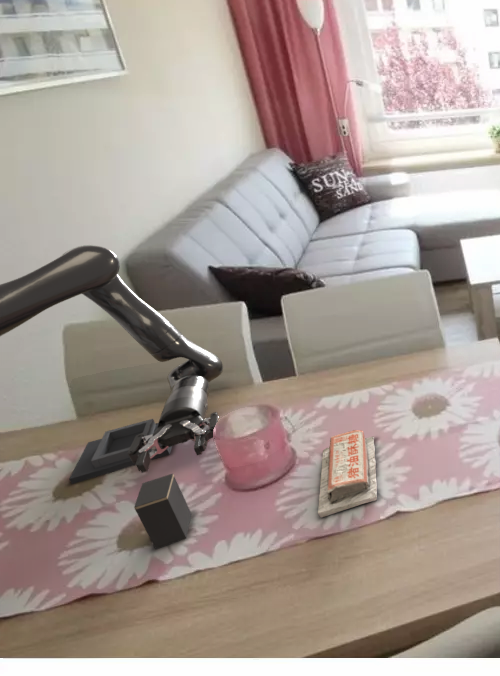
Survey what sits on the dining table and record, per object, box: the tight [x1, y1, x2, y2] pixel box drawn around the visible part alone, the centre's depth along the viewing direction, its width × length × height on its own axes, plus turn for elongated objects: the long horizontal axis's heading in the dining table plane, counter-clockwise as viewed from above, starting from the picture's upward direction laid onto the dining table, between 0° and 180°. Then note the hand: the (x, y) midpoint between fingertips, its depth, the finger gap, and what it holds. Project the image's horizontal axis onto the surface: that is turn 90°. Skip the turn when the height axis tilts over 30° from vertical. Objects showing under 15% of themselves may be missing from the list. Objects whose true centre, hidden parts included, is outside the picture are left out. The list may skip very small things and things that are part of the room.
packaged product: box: [317, 429, 378, 518], centre depth 105 cm, size 18×5×10 cm
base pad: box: [68, 418, 173, 485], centre depth 114 cm, size 16×12×4 cm
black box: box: [133, 473, 193, 550], centre depth 93 cm, size 4×6×10 cm
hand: (170, 459), depth 100 cm, fingers open, 8 cm apart
